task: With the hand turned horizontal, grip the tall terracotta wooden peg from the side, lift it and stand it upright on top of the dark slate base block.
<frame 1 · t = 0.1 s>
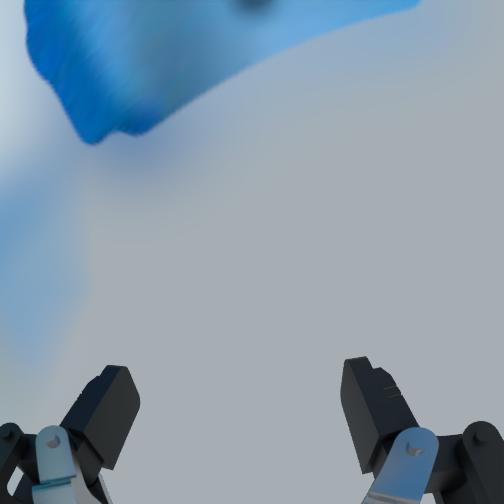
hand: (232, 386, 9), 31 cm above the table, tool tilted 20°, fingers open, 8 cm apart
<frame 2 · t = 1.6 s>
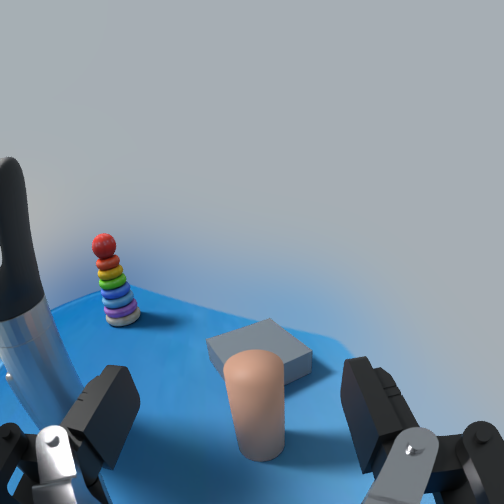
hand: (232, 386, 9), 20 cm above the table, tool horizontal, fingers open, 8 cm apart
stacking toy: (124, 319, 55), on the table
terracotta peg: (261, 443, 25), on the table
slate base block: (258, 367, 39), on the table
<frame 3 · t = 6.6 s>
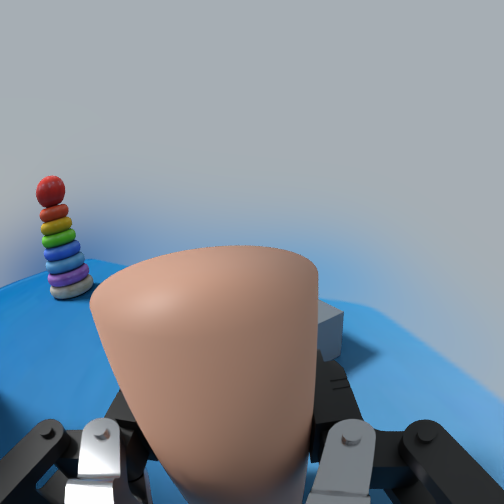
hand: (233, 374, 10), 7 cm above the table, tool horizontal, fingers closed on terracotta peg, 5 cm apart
stacking toy: (73, 292, 39), on the table
terracotta peg: (249, 502, 9), on the table, touching gripper
slate base block: (246, 349, 23), on the table
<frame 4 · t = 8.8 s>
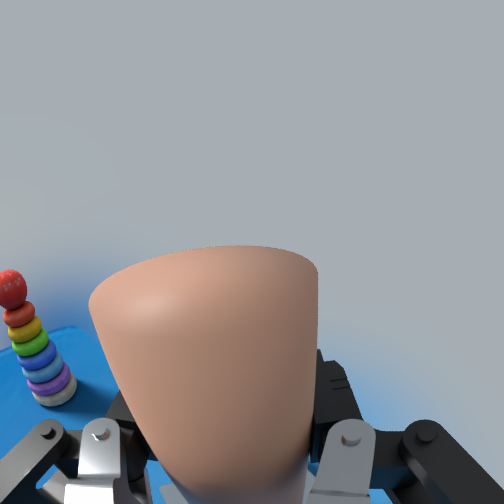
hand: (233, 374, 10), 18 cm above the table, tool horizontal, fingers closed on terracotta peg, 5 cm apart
stacking toy: (57, 392, 29), on the table
terracotta peg: (249, 502, 9), point 11 cm above the table, touching gripper
when the fingers open (12 cm above the table, at t = 11.1 s): terracotta peg drops 1 cm, resting on slate base block.
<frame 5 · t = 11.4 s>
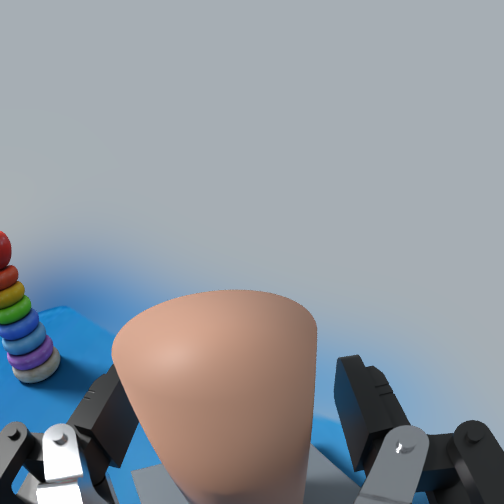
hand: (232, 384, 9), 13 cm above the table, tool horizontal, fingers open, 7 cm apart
stacking toy: (39, 369, 27), on the table
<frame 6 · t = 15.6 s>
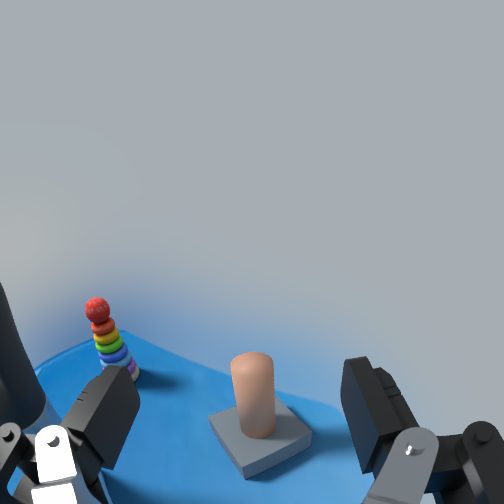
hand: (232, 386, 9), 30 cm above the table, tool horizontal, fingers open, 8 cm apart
stacking toy: (123, 377, 51), on the table
terracotta peg: (258, 425, 34), point 4 cm above the table, touching slate base block
slate base block: (259, 440, 36), on the table
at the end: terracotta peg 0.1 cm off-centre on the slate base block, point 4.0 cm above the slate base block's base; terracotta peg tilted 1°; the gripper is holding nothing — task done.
